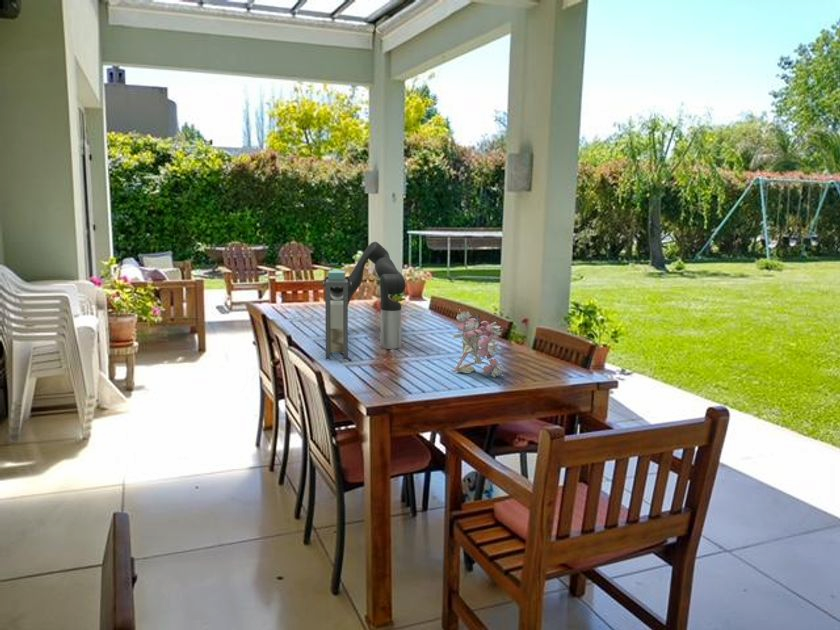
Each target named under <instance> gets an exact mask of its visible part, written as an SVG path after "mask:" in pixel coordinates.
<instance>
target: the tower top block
mask: <svg viewBox="0 0 840 630" xmlns="http://www.w3.org/2000/svg"><path fill="white" fill-rule="evenodd" d="M330 308H331V329H343V301H330Z"/></svg>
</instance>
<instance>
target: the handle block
mask: <svg viewBox="0 0 840 630" xmlns="http://www.w3.org/2000/svg"><path fill="white" fill-rule="evenodd" d="M327 277H328V279H345V277H346V270H331V269H330V270H328V275H327Z"/></svg>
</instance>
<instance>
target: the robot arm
mask: <svg viewBox="0 0 840 630" xmlns="http://www.w3.org/2000/svg"><path fill="white" fill-rule="evenodd" d="M368 261H370V262H372V263H373V264H374V271H375V272H376V274H377V276H378V277H379V278H380V279H379V287H380V341H379V342H380V346H379V347H380V348H381V349H387V350H388V349H389V350H393V349H394V350H396V349H402V330H403V329H402V303H401V302H398V301H396V300H393V299H392V298H390V297H389V295H390V296H391V295H392V296H394V295H401V294H403V293H404V292H405V291H406V280H405V277H404V276H403V274H402V273H401V272H400V271H399V270H398V269H397V267H396V265H395V264H394V262H393V261H392V259H391V258H390V253H389V252H388V250H387V249H386V248H384V247H383V246H382V245H381V244H380V243H379V242H377V241H372V242H371V243H369V245H367V247H366V248H365V250H364V251H363V253H362V255H361V256H360V258H359V259H358V261H357V263H356V265H355V267H354V269H353V270H352V271H351V273H350V275H349V276H345V279H348V305H349V303H350V301H351V299H352V297H353V295H354V294H355V293H356V291H357V290H358V289H359V288H360V286H361V284H362V282H363V280H364V279H363V277H364V270H365V266H366V264H367V262H368ZM326 279H328V276H326V277H325V278H324V279H323V280H322V287H325V282H326ZM330 301H343V287H330Z"/></svg>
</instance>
